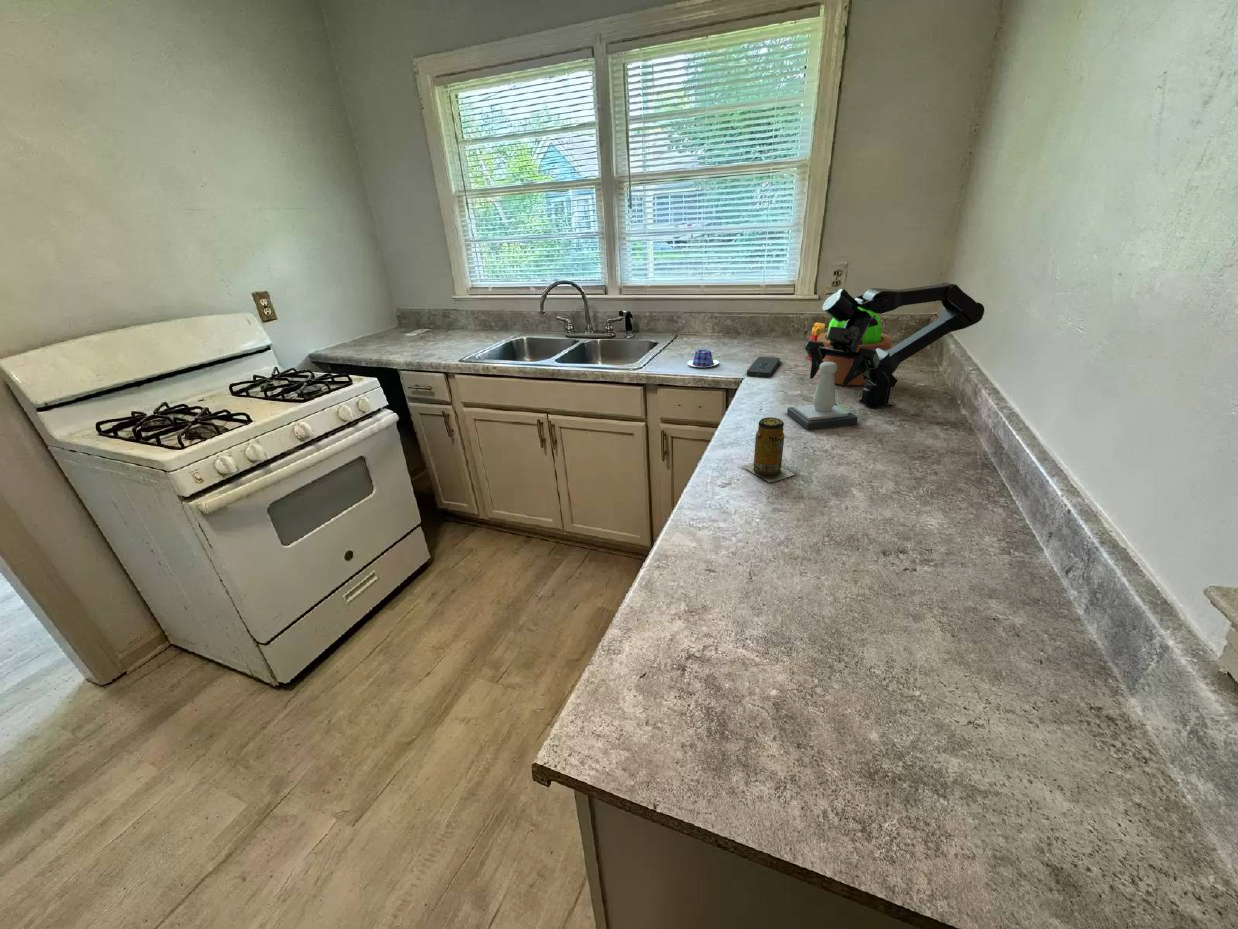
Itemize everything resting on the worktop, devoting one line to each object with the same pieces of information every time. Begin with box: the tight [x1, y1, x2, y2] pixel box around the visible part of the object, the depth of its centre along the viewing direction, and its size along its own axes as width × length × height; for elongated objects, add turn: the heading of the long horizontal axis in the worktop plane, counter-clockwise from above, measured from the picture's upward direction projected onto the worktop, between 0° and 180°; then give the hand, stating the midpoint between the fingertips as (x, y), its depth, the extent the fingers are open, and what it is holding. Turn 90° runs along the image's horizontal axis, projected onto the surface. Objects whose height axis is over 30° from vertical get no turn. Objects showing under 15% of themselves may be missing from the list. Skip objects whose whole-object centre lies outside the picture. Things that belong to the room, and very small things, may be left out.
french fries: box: [808, 322, 826, 361], centre depth 186 cm, size 9×4×13 cm, turn 163°
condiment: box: [744, 416, 796, 483], centre depth 109 cm, size 7×8×12 cm
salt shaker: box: [812, 362, 837, 412], centre depth 132 cm, size 6×6×13 cm
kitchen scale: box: [786, 402, 859, 431], centre depth 136 cm, size 14×12×3 cm
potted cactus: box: [817, 307, 893, 386], centre depth 160 cm, size 22×22×25 cm
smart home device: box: [746, 356, 781, 378], centre depth 181 cm, size 8×2×20 cm
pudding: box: [687, 349, 720, 368], centre depth 189 cm, size 12×12×5 cm
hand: (826, 381), depth 131 cm, fingers open, 9 cm apart
